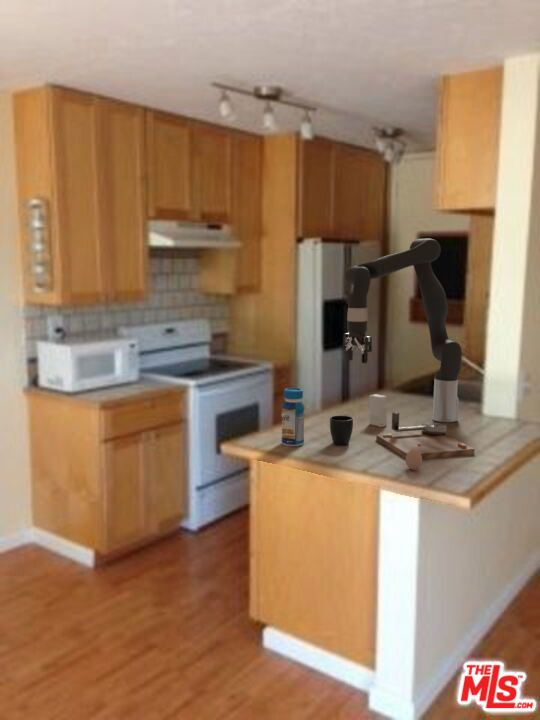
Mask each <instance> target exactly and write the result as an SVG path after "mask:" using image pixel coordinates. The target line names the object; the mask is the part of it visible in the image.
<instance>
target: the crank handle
mask: <svg viewBox="0 0 540 720" xmlns="http://www.w3.org/2000/svg"><path fill="white" fill-rule="evenodd" d="M447 429H448V426H447V425H446V424H445V423H442V422H425V423H421V425H418V426H417V425H416V426H403V427H400V412H398V411H394V412H392V413H391V430H393V431H394V432H395V433H403V432H416V431H422V433H424V434H428V435H445V434H446V435H447V432H448V431H447Z"/></svg>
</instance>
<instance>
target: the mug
mask: <svg viewBox="0 0 540 720" xmlns="http://www.w3.org/2000/svg"><path fill="white" fill-rule="evenodd" d="M353 428H354V418H353V417H352V416H350V415H349V416H348V415H347V414H346V415H341V414H340V415H337V414H336V415H332V416H330V418H329V431H330V436H331V440H332V443H333V445H334V446H341V447H342V446H343V447H344V446H348V445H349V444H350V440H351V437H352V434H353Z"/></svg>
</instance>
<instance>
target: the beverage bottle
mask: <svg viewBox="0 0 540 720" xmlns="http://www.w3.org/2000/svg"><path fill="white" fill-rule="evenodd" d="M303 396H304V390H303V388H300V387H287V388H284V390H283V398H284V402H283V403H282V405H281V410H282V411H281V415H280V416H281V444H282V445H284V446H286V447H300V446H303V445H304V443H305V418H306V413H305V403H304V402H303V401H302V400H303V398H304V397H303Z"/></svg>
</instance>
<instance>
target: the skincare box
mask: <svg viewBox="0 0 540 720" xmlns="http://www.w3.org/2000/svg"><path fill="white" fill-rule="evenodd" d="M368 404H369V411H368V412H369V415H368V417H369V421H368V423H369V425H372V426H376V427H379V428H382V427H386V426H387V425H388V396H387V395H382V394H377V393H375V394H369V402H368Z"/></svg>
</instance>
